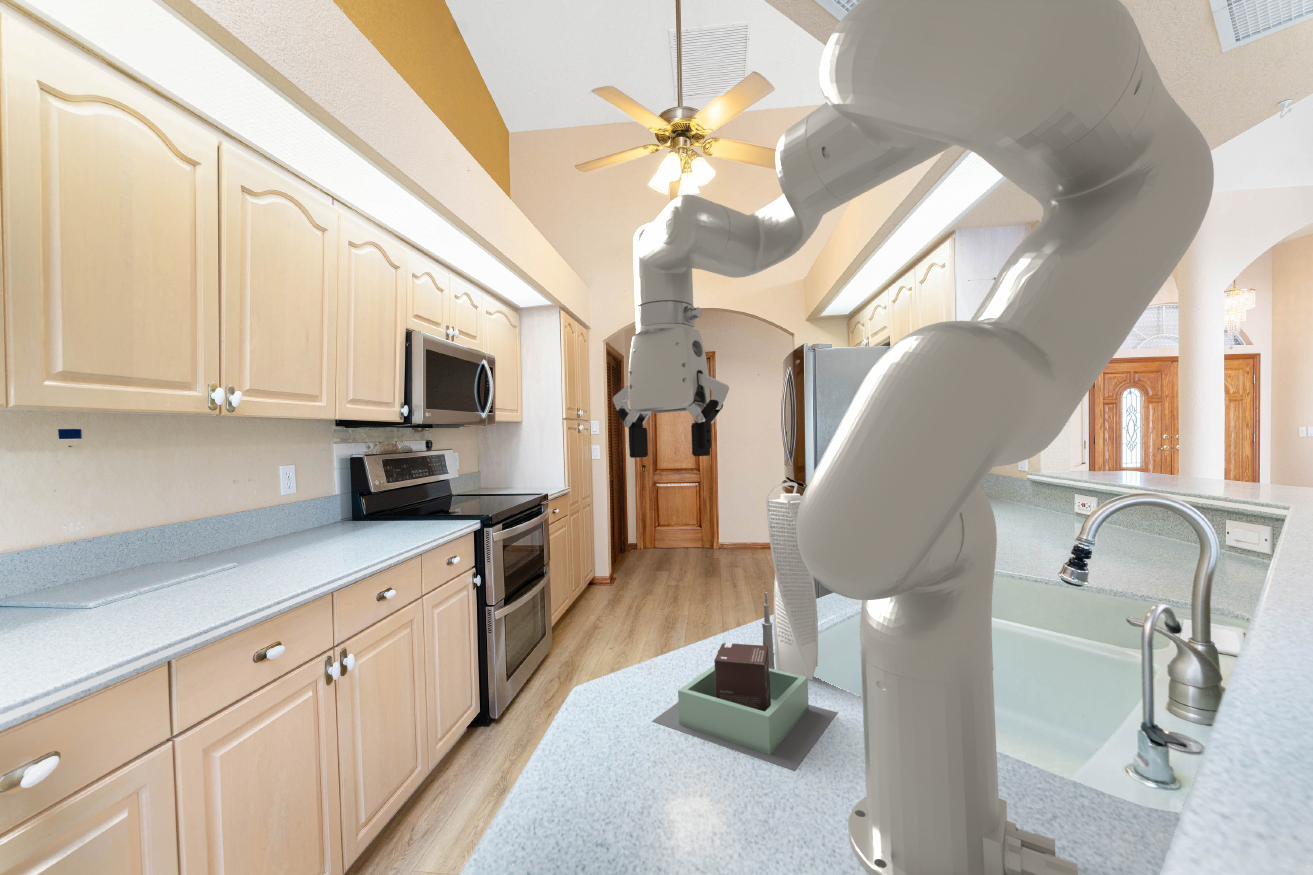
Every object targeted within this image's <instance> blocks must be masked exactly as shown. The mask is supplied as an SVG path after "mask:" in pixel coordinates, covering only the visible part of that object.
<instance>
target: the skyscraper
mask: <svg viewBox="0 0 1313 875" xmlns="http://www.w3.org/2000/svg"><path fill="white" fill-rule="evenodd" d="M787 486H794V488H793V492H792V493H780V498H777V499H776V498H775V499H770V498H771V496H772V494H773V493H774V492H775V491H777V490H778V489H779V488H782V487H787ZM797 490H798V483H797V482H793V481H787V482H786V481H785V482H782V483H779V484H777V485H775V486H774V487H772V489H771V490H770V491H769V493H768V495H767V497H766V499H765V504H766V517H767V518H766V519H767V526H768V527H767V528H768V538H769V539H768V540H769V545H770V546H769V547H770V553H771V558H772V564H773V565H772V566H773V569H774V583H773V584H774V585H773V586H774V587H773V589H774V590H773V622H771V618H770V617H771V616H770V615H771V614H770V604H769V603H768V600H769V598H768V591H767V592H764V600H765V602H764V604H763V609H764V611H763V612H764V614H763V618H764V621H762V623H761V625H762V645H763V646H768V656H769V668H771V669H775V670H780V671H784V672H788V673H792V674H797V675H801V676H805V677H807V678H808V680H810V681H814V679H813V678H814V676H815V671H816V669H817V668H816V667H818V660H819V659H818V658H819V623H818V620H819V619H818V618H819V616H818V605H817V604H818V603H817V595H816V594H817V593H816V588H815V581H814V577H813V575H812V574H811V573H810V572H809V570H808V569H807V567H806V565H805V563H804V561H803V559H802V557H801V554H800V551H799V548H798V543H797V535H796V522H797V514H798V509H799V505H800V502H801V499H802V496H803V495H801V494H800V493H797ZM773 631H774V632H773ZM773 633H774V636H773ZM773 637H774V638H773ZM773 639H774V641H773Z"/></svg>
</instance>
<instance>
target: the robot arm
mask: <svg viewBox="0 0 1313 875" xmlns="http://www.w3.org/2000/svg"><path fill="white" fill-rule="evenodd" d="M824 47H825V48H824V49H823V52H822V56H821V60H820V64H819V70H818V71H819V74H818V76H819V86H820V90H821V94H822V95H823V99H825V101H826V102H824V103H823V104H822V105H820V106H819V107H818V108H816V109H815V110H813V111H811V112H810V113H809V114H807V115H806V116H805V117H803V118H802V119H800V120H799V121H798V122H796V123H794V124H793V125H791V126H790V127H788V128H787V129H786V130H785V131H784V132H783V133H782V135H781V136H780V138H779V139H778V142H777V144H776V148H775V156H774V162H775V170H776V176H777V180H778V183H779V186H780V189H781V191H782V195H780V196H779V197H778V198H776V199H774V201H772V202H770V203H769V204H767V205H766V206H764V207H762V208H761V209H759V210H757V211H755V212H753V213H751V214H746V213H743V212H741V211H739V210H736V209H733V208H731V207H727V206H725V205H723V204H720V203H718V202H714V201H711V200H709V199H706V198H704V197H701V196H698V195H695V194H682V195H679V196H677V197H675V198H674V199H672V200H671V201H670V202H669V203H668V204H667V205H666V206H665V207H664V209H662V211H661V212H660V213H659V215H657V217H656V218H655V219H654V220H653V221H650V222H647V223H645V224H643V225H642V226H639V228H638V229H637V230H636V231H635V233H634V236H633V242H632V247H633V249H632V250H633V252H632V254H633V280H634V281H633V284H634V286H633V289H634V314H635V315H634V316H635V318H634V320H635V335H633V336H632V339H631V345H630V346H631V347H630V353H629V363H628V379H627V380H628V381H627V382H628V384H627V385H626V386H625V387H623V388H622V389H621V390H620V391H618V392H617V393H616V394H615V395H614V396H613V397H612V402H613V404H614V406H615V410H616V411H617V415H618V417H619V418H620V420H621V421H623V424H624V425H623V426H624V427H625V428H628V449H629V457H630V459H631V458H632V459H634V458H635V459H638V458H639V459H640V458H647V457H648V456H649V446H648V445H649V443H648V440H649V439H648V429H647V427H644V425H645V424H646V421H648V418H649V416H651V414H652V413H653V414H655V413H656V414H661V413H677V412H688V413H689V414H690V415H691V417H692V418H693V419H694V420H695V421H694V422H692V423H691V454H692V456H693V457H709V456H710V455H711V448H712V445H713V444H712V424H713V423H714V422H715V420H716V417H717V416H718V414H719V413H720V412H721V410H722V409H723V407H724V402H725V401H726V398H727V396H728V393H729V390H730V386H729V385H728V384H727V383H724V382H722V381H720V380H718V379H716V378H714V377H711V376H709V371H708V370H709V369H708V362H707V361H708V360H707V357H706V356H707V355H706V350H705V346H704V340H703V338H702V333H701V331H700V330H699V329H696V328H695V327H696V324H695V321H696V320H697V319H701V317H702V310H701V308H700V307H699V306H698V307H695V306H694V288H693V286H694V284H693V282H694V281H693V280H694V279H693V269H696V270H701V271H706V272H709V273H712V274H717V275H720V276H724V277H727V278H731V279H733V278H734V279H736V278H737V279H739V278H745V277H749V276H753V275H756V274H758V273H760V272H762V271H765V270H767V269H769V268H771V267H774V266H776V265H778V264H781V263H782V262H784V261H786V260H787V259H789V258H791V257H792V256H794V255H795V254H796V253H797V252H799V251H800V250H801V249H802V247H804V245H805V244H807V242H808V241H809V239H810V238H811V237H812V235H813V234H814V233H815V232H816V230H817V229H818V227H819V225H820V223H821V220H822V219H823V216H824V215H826V214H827V213H829V212H831V211H833V210H834V209H836V208H838V207H840V206H842V205H844V204H846V203H848V202H851V201H852V200H854V199H856V198H857V197H860V196H861V195H863V194H865V193H866V192H870V190H873V189H875V188H876V187H878V186H880V185H882V184H884V183H886V182H887V181H891V179H894V178H896V177H898V176H899V175H902V174H903V173H905V172H907V171H909V170H910V169H913V168H915V167H917V166H918V165H921V164H922V163H924V162H926V161H928V160H930V159H931V158H934V157H936V156H937V155H939V154H941V153H943V152H945V151H947V150H948V149H949V148H952V147H953V146H957V147H959V148H963V149H965V150H967V151H970V152H973V153H974V154H976V155H977V156H978V157H980V158H982V159H983V160H984V161H985V163H988V165H989V166H991V167H992V168H993V169H995V170H996V171H997V172H998V173H999V174H1001V175H1002V176H1003V177H1005V178H1006V179H1008V180H1009V181H1011V182H1012V183H1013V184H1014V185H1016V186H1017V187H1018V188H1019V189H1020V190H1022V191H1023V192H1025V193H1026V194H1027V195H1029V196H1031V197H1032V198H1034V199H1035V200H1036V201H1037V202H1038V203H1039V204H1040V206H1041V207H1042V208H1043V210H1042V211H1043V213H1042V217H1041V220H1040V221H1039V223H1038V224H1037V225H1036V226H1035V228H1033V229H1032V231H1031V232H1030V233H1029V234H1028V235H1027V236H1025V237H1024V239H1023V240H1022V241H1021V242H1020V244H1018V246H1017V247H1016V248H1015V249H1014V251H1013V252H1012V253H1011V254H1010V256H1009V257H1008V259H1007V260H1006V261H1005V263H1004V264H1003V266H1002V267H1001V269H1000V270H999V272H998V274H997V276H996V278H995V280H994V282H993V283H992V286H991V287H990V289H989V290H988V292H987V293H986V295H985V297H984V298H983V300H982V302H981V303H980V305H979V306H978V308H977V309H976V311H975V313H974V314H973V316H972V317H971V318H970V320H951V321H950V320H949V321H947V320H946V321H940V322H935V323H931V324H928V325H925V326H923V327H920V328H918V329H916V330H914V331H911V332H910V333H908V334H906V335H904V336H903V337H902V338H900V339H899V340H898V341H896V342H895V343H893V345H891V346H890V347H889V348H888V349H887V350H886V351H884V353H883V354H882V355H881V356H880V357H879V358H878V359H877V361H876V362H875V363H874V364H873V365H872V367H871V368H870V369H869V371H868V373H866V376H865V377H864V378H863V380H862V382H861V384H860V385H859V387H858V389H857V391H856V392H855V395H854V396H853V398H852V400H851V402H850V404H849V405H848V407H847V409H846V411H845V413H844V415H843V417H842V419H841V421H840V423H839V424H838V426H837V427H836V430H835V432H834V434H833V435H832V438H831V440H830V441H829V443H828V445H827V446H826V448H825V451H824V452H823V454H822V456H821V458H820V460H819V462H818V464H817V466H816V467H815V469H814V471H813V473H812V475H811V477H810V478H809V481H808V482H807V485H806V487H805V490H804V492H803V494H802V495H801V496H802V499H801V502H800V505H799V509H798V514H797V522H796V535H797V543H798V548H799V551H800V554H801V557H802V559H803V561H804V563H805V565H806V567H807V569H808V570H809V572H810V573H811V574H812V575H813V579H815V580H816V581H817V582H818V583H819V584H821V585H822V586H823V587H824V588H826V589H827V590H828V591H831V592H832V593H834V594H836V595H839V596H842V597H844V598H848V599H851V600H857V601H861V610H860V622H859V623H860V624H859V629H860V630H859V633H860V634H859V636H860V638H859V639H860V671H861V673H860V674H861V694H862V696H861V697H862V698H861V699H862V700H861V701H862V718H863V720H862V722H863V740H864V741H863V742H864V768H865V769H864V770H865V771H864V772H865V774H864V775H865V792H866V795H865V797H864V798H862V799H861V800H859V801H858V802H857V803H856V804H855V805H854V806H853V807H852V809H851V811H850V813H849V816H848V823H847V832H848V842H849V844H850V848H851V851H852V853H853V855H854V856H855V858H856V860H857V861H858V863H859V864H860V866H861V867H862V869H863V870H864V871H866V873H867V874H868V875H1079V873H1078V871H1079V870H1078V863H1076V862H1073V861H1070V860H1067V859H1064V858H1061V857H1058V856H1056V853H1057V852H1056V839H1055V838H1051V837H1048V836H1045V835H1043V834H1040V833H1036V832H1034V833H1033V832H1030V831H1026V830H1023V829H1021V828H1019V827H1018V825H1017V823H1015V822H1013V821H1009V820H1008V806H1007V803H1008V802H1007V801H1006V800H1005V799H1003V798H1000V796H999V777H998V775H999V774H998V755H997V754H998V753H997V736H996V735H997V733H996V714H995V713H996V712H995V711H996V710H995V693H994V691H995V690H994V672H993V671H994V656H993V653H994V652H993V630H992V629H993V628H992V627H993V625H992V623H993V619H992V616H993V614H992V613H993V593H994V591H993V590H994V582H995V581H994V578H995V569H996V560H997V547H998V546H997V545H998V542H997V541H998V540H997V539H998V538H997V535H998V534H997V522H996V518H995V517H996V516H995V514H994V513H995V512H994V510H993V507H992V505H991V502H990V500H989V498H988V496H987V494H986V493H985V492H984V490H983V489H982V487H981V486H980V485H981V484H982V483H983V482H984V481H985V479H986V477H987V476H988V475H989V473H990V472H991V471H992V469H994V468H996V467H1002V466H1003V467H1005V466H1010V465H1015V464H1017V463H1019V462H1023V461H1027V460H1029V459H1031V458H1033V457H1035V456H1037V455H1039V454H1040V453H1041V452H1043V451H1045V450H1046V449H1047V448H1048V447H1049V446H1050V445H1051V444H1052V443H1053V442H1054V440H1056V438H1058V437H1059V436H1060V434H1061V433H1062V431H1063V430H1064V429H1065V427H1066V425H1067V423H1068V422H1069V420H1070V419H1071V417H1072V416H1073V414H1074V412H1075V411H1076V410H1077V408H1078V406H1079V405H1080V404H1081V402H1082V401H1083V399H1084V397H1085V396H1086V395H1087V394H1088V392H1089V391H1090V389H1091V388H1092V386H1094V384H1095V382H1096V381H1097V379H1098V378H1099V377H1100V375H1101V374H1102V373H1103V372H1104V371H1105V369H1106V368H1107V366H1108V364H1109V363H1110V362H1111V360H1112V359H1113V358H1114V357H1115V355H1116V353H1117V352H1118V351H1119V349H1120V348H1121V347H1122V345H1123V344H1124V342H1125V341H1126V339H1127V338H1128V336H1129V335H1130V333H1131V332H1132V330H1133V329H1134V328H1135V325H1136V324H1137V322H1138V321H1139V320H1140V318H1141V316H1142V315H1143V313H1144V312H1145V311H1146V309H1147V308H1148V307H1149V305H1150V303H1152V301H1153V300H1154V298H1155V297H1156V295H1157V294H1158V292H1160V290H1161V288H1163V286H1164V284H1165V283H1166V281H1167V280H1168V278H1170V276H1171V274H1172V273H1173V272H1174V270H1175V269H1176V267H1177V266H1178V264H1179V263H1180V262H1181V260H1182V259H1183V257H1184V256H1185V255H1186V253H1187V251H1188V249H1189V247H1191V245H1192V243H1193V241H1194V239H1195V237H1196V236H1197V235H1198V232H1199V230H1200V228H1201V226H1202V224H1203V222H1204V220H1205V217H1206V216H1207V215H1206V214H1207V212H1208V210H1209V208H1210V207H1209V206H1210V203H1211V200H1212V196H1213V191H1214V185H1215V184H1214V181H1215V180H1214V179H1215V168H1214V161H1213V156H1212V153H1211V152H1212V151H1211V149H1210V147H1209V143H1208V141H1207V140H1206V138H1205V136H1204V134H1203V133H1202V131H1201V130H1200V129H1199V128H1198V126H1197V125H1196V123H1194V122H1193V120H1192V119H1191V118H1190V116H1189V115H1188V114H1187V113H1186V112H1185V111H1184V110H1183V109H1182V107H1180V105H1179V104H1178V103H1177V101H1175V99H1174V98H1173V97H1172V95H1171V93H1170V92H1168V90H1167V87H1166V86H1165V85H1164V83H1163V80H1162V79H1161V76H1160V74H1159V72H1158V70H1157V67H1156V65H1155V64H1154V62H1153V59H1152V58H1151V56H1150V55H1149V52H1148V50H1147V47H1146V45H1145V42H1144V41H1143V38H1142V36H1141V34H1140V32H1139V29H1138V26H1137V24H1136V23H1135V20H1134V18H1133V17H1132V15H1131V13H1130V12H1129V10H1128V8H1127V7H1126V6H1125V5H1124V4H1123V3H1122V2H1121V0H859V2H858V3H857V4H855V6H853V7H852V8H851V9H850V10H849V11H848V12H847V13H846V14H845V15H844V17H843V18H841V19H840V21H839V23H838V24H837V25H836V27H835V29H834V30H833V32H832V33H831V35H830V37H829V39H828V40H827V42H826V45H825V46H824ZM711 392H712V393H711ZM711 394H712V395H711ZM710 396H711V397H710ZM628 402H629V404H628ZM629 406H630V408H629Z"/></svg>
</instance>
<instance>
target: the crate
mask: <svg viewBox="0 0 1313 875" xmlns="http://www.w3.org/2000/svg"><path fill="white" fill-rule="evenodd" d="M769 676H770V697H771V706H770V707H769V708H768V709H767V710H766V711H765V712H764V711H761V710H757V709H754V708H750V707H747V706H743V705H740V704H736V703H733V702H729V701H726V700H722V699H719V698H716V697H715V664H714V665H712V666H711V667H710V668H708V669H707V670H706V671H703V672H702V673H701V674H699V675H698V676H697V677H695V678H694V679H692V680H691V681H690V682H688V683H686V684H685V685H684V686H682V687H681V688H679V689H678V690H677V693H678V695H677V696H678V697H677V698H678V700H677V702H678V703H679V724H680V725H683V726H686V727H689V728H692V729H695V730H698V731H701V732H704V733H707V734H710V735H712V736H715V737H718V738H721V739H724V740H727V741H730V742H733V743H736V744H739V745H742V746H745V747H748V748H751V749H754V750H757V751H760V752H763V753H766V754H769V755H770V754H771V753H772V752H773V751H774V750H775V748H776V747H777V746H778V745H779V744H780V743H781V741H782V740H783V739H784V738H785V737H786V736H787V734H788V733H789V732H790V731H791V730H792V729H793V727H794V726H795V725H796V724H797V723H798V722H799V720H800V719H801V718H802V717H803V716H804V714H805V713H806V712H807V711H808V710H809V705H810V704H809V682H808V680H809V679H808V678H807V677H805V676H801V675H797V674H792V673H788V672H784V671H780V670H776V668H775V669H771V668H769Z"/></svg>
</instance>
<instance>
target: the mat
mask: <svg viewBox="0 0 1313 875" xmlns="http://www.w3.org/2000/svg"><path fill="white" fill-rule="evenodd" d="M838 713H839V712H837V711H834V710H830V709H826V708H823V707H818V706H815V705H811V704H809V710H808V711H807V712H806V713H805V714H804V716H803V717H802V718H801V719H800V720H799V722H798V723H797V724H796V725H795V726H794V727H793V729H792V730H791V731H790V732H789V733H788V734H787V736H786V737H785V738H784V739H783V740H782V741H781V743H780V744H779V745H778V746H777V747H776V748H775V750H774V751H773V752H772V753H771V754H770V755H769V754H766V753H763V752H760V751H757V750H754V749H751V748H748V747H745V746H742V745H739V744H736V743H733V742H730V741H727V740H724V739H721V738H718V737H715V736H712V735H710V734H707V733H704V732H701V731H698V730H695V729H692V728H689V727H686V726H683V725H680V724H679V703H678V701H677V702H675V703H674V704H673V705H672V706H671V707H669V708H667V710H665V711H664V712H662V713H661V714H659V715H658V716H657V717H656V718H654V719H653V720H652V721H651V722H652V723H654V724H657V725H660V726H663V727H666V728H669V729H672V730H674V731H677V732H681V733H683V734H687V735H689V736H693V737H694V738H695V737H696V738H699V739H701V740H704V741H706V742H708V743H709V742H710V743H712V744H715V745H718V746H721V747H724V748H726V749H730V750H732V751H735V752H738V753H741V754H743V755H746V756H747V755H748V756H750V757H753V758H755V759H759V760H762V761H764V762H768V763H770V764H773V765H776V766H779V767H780V768H784V769H787V770H791V771H793V772H795V771H796V770H797V769H798V767H800V764H801V763H802V762H803V760H804V759H805V758H806V757H807V756H808V754H809V753H810V751H811V750H812V748H813V747H814V746H815V744H816V743H817V742H818V740H819V739H820V738H821V737H822V735H823V733H824V732H825V731H826V730H827V728H828V726H829V725H830V724H831V723H832V721H833V720H834V719H835V717H836V716H837V715H838Z"/></svg>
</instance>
